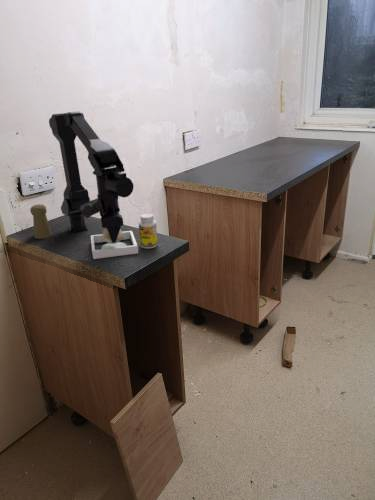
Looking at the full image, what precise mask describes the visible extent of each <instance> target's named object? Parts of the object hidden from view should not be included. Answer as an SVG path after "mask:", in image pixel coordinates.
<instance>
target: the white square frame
mask: <svg viewBox="0 0 375 500" xmlns="http://www.w3.org/2000/svg"><path fill="white" fill-rule="evenodd" d="M90 240H91V241H90V243H91V253H92V254H91V255H92V259H93V260H97V259H105V258H113V257H119V256H127V255H128V256H129V255H136V254H139V249H138V247H139V246H138V244H137V240H136V238H135V236H134V233H133V230H126V231H125V230H124V231H122V238H121V240H120V241H119V242H118V243H115V244H110V243H108V242H106V241H105V240H104V238H103V233H102V234H91V235H90ZM124 240H130V242H131V243H132V245H127V244H126V243H125V242H121V241H124ZM105 242H106V243H105ZM99 243H105V244H103V245H102V246H101V249H96V246H95V244H99Z"/></svg>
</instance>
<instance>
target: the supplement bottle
mask: <svg viewBox="0 0 375 500" xmlns="http://www.w3.org/2000/svg"><path fill="white" fill-rule="evenodd" d="M138 233H139V234H138V235H139V245H140V247H141V248H143V249H153V248H156V247H157V246H158V230H157V220H155V219H154V215H153V214H152V213H144V214H141V215H140V221H138Z"/></svg>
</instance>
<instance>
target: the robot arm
mask: <svg viewBox="0 0 375 500" xmlns="http://www.w3.org/2000/svg"><path fill="white" fill-rule="evenodd" d="M48 124H49V127H50V129H51V133H52V135H53V137H54V138H55V139H56V140H57V141H58V143H59V147H60V153H61V154H60V155H61V159H62V160H61V161H62V165H63V166H62V167H63V169H64V170H63V172H64V176H65V182H66V187H65V188H64V191H63V201H62V203H61V206H60V210H61V213H62V215H64V216H66V217H68V223H69V225H68V232H69V233H74V232H75V233H76V232H83V231H88V229H89V228H88V223H87V222H86V219H89V218H91V216H94V215H96V214H98V213H99V216H100V222H101V228H102V229H105V228H106V229H108V232H109V235H110V238H111V241H112V243H115V242H116V240H117V237H118V234H119V231H120V229H122V226H124V219H123V215H122V214H121V213H120V206H119V197H121V198H128V197H129V196H131V195H132V193H133V191H134V183H133V181H132V179H130V177H128V176H127V172H125V171H126V170H125V167H124V164H123V162H122V160H121V159H120V156H119V155H118V154H119V153H117V151H116V149H115V148H113V147H112V146H111V144H110V143H108V142H105V141H104V140H102V139H100V137H99V136H98V134H97V133H96V131H94V129H93V127H92V126H91V125H90V124H89V122H88V121H87V119H86V118H85V116H84V113H83V112H81V111H69V112H65V113H63V112H62V113H53V114H52V115H51V117H50V118H49V119H48ZM76 138H78V140H79V141H80V142H81V144H82V145H83V146H84V147H85V149H86V151H87V159H88V161H89V164H90V166H91V167H92V169H93V171H92V174H93V175H94V176H95V179H96V186H97V187H96V189H97V194H96V196H97V197H96V198H94V199H92V200H91V198H90V196H89V190H88V189H86V188H85V187H84V186H83V185H82V182H81V181H82V180H81V174H80V168H79V163H78V162H79V161H78V155H77V149H76V144H75V143H76V142H75V140H76Z"/></svg>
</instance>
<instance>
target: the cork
mask: <svg viewBox="0 0 375 500" xmlns="http://www.w3.org/2000/svg"><path fill="white" fill-rule="evenodd" d="M47 212H48V210H47V207H46V206H45V205H44V204H41V203H40V204H33V205H31V207H30V214H31V215H32V216H33V217H32V219H33V220H32V221H33V237H34V239H36V240H37V239H38V240H43V239H48V238H50V237H52V236H53V232H52V230H51V226H50V223H49V220H48V218H47Z"/></svg>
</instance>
